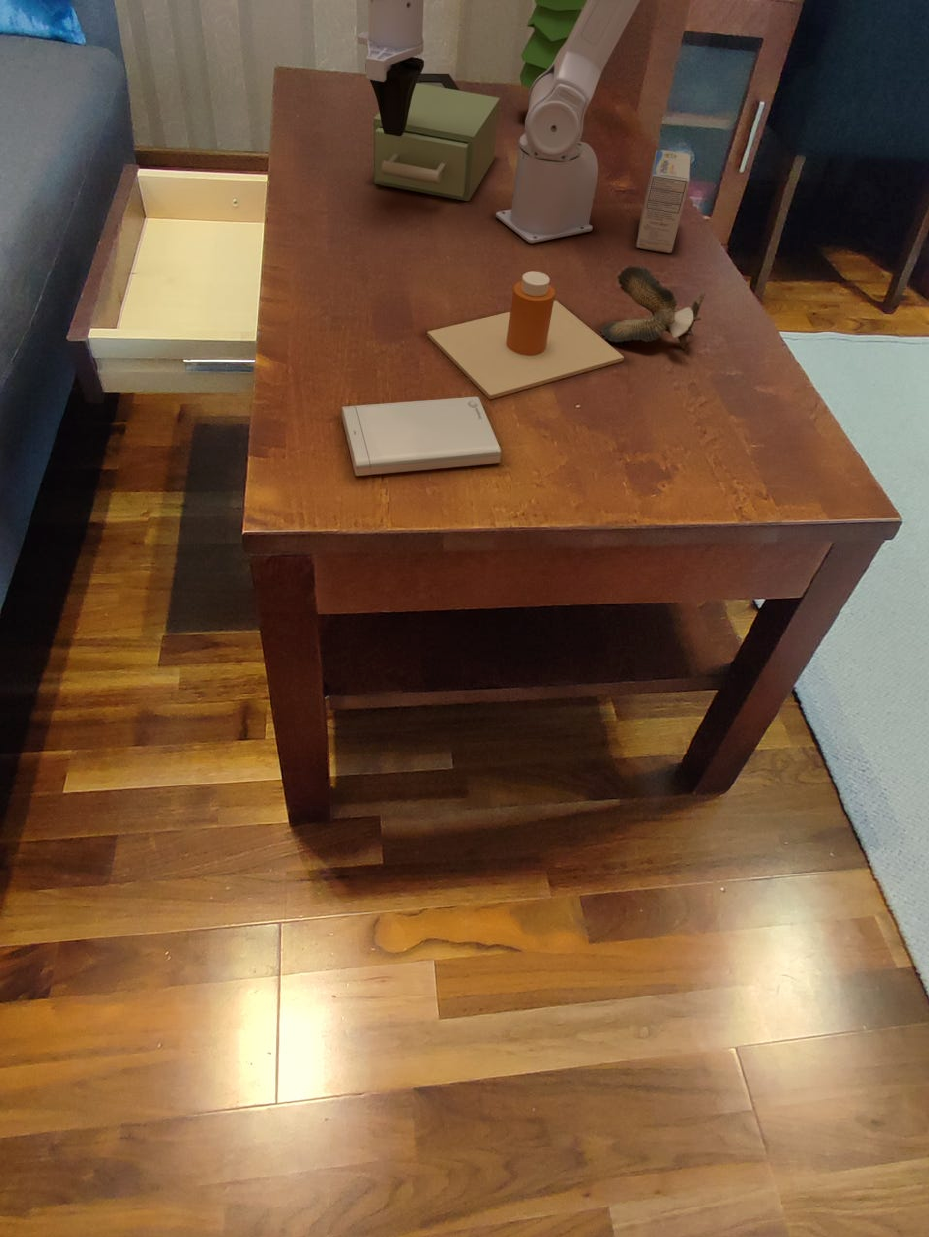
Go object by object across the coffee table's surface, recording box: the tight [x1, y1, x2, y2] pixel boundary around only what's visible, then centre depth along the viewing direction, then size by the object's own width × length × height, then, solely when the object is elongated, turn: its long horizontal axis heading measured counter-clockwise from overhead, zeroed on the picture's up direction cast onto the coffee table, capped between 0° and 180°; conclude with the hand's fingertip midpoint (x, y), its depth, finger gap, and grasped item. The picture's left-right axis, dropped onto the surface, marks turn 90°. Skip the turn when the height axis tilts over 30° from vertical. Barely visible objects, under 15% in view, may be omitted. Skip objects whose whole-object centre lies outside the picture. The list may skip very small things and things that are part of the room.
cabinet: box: [373, 83, 501, 202], centre depth 108 cm, size 15×13×8 cm
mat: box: [426, 300, 625, 400], centre depth 84 cm, size 16×12×1 cm
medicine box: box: [635, 149, 692, 254], centre depth 100 cm, size 8×4×9 cm, turn 168°
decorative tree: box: [519, 0, 587, 124], centre depth 115 cm, size 10×9×30 cm
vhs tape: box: [417, 72, 461, 91], centre depth 126 cm, size 8×14×2 cm, turn 14°
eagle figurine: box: [599, 265, 706, 350], centre depth 85 cm, size 8×7×9 cm
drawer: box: [375, 128, 468, 197], centre depth 105 cm, size 18×11×6 cm, turn 166°
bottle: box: [506, 270, 556, 356], centre depth 81 cm, size 4×4×7 cm
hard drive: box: [341, 396, 502, 477], centre depth 72 cm, size 2×8×12 cm
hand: (394, 133), depth 96 cm, fingers closed
